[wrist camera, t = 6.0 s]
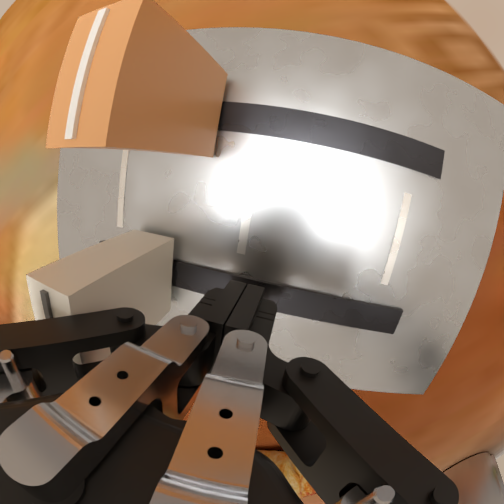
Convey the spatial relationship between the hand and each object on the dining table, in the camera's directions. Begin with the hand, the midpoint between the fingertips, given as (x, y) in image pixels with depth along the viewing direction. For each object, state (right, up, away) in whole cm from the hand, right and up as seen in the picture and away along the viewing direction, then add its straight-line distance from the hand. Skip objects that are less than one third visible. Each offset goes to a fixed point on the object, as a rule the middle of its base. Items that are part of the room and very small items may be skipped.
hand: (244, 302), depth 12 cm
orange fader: (-2, +8, -1) cm, 9 cm away
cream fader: (-5, +1, +2) cm, 5 cm away
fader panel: (+1, +5, +2) cm, 5 cm away
